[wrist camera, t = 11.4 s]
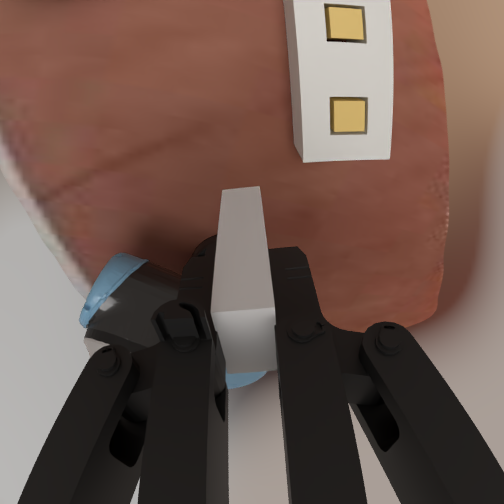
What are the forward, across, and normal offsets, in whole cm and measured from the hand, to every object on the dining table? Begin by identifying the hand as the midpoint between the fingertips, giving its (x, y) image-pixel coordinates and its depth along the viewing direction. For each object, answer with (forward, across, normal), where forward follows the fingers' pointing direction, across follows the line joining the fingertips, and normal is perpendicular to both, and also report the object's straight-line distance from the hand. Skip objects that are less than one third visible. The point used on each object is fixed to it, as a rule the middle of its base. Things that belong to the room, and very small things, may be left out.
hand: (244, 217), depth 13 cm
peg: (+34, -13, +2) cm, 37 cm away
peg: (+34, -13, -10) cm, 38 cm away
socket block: (+34, -13, -4) cm, 37 cm away
